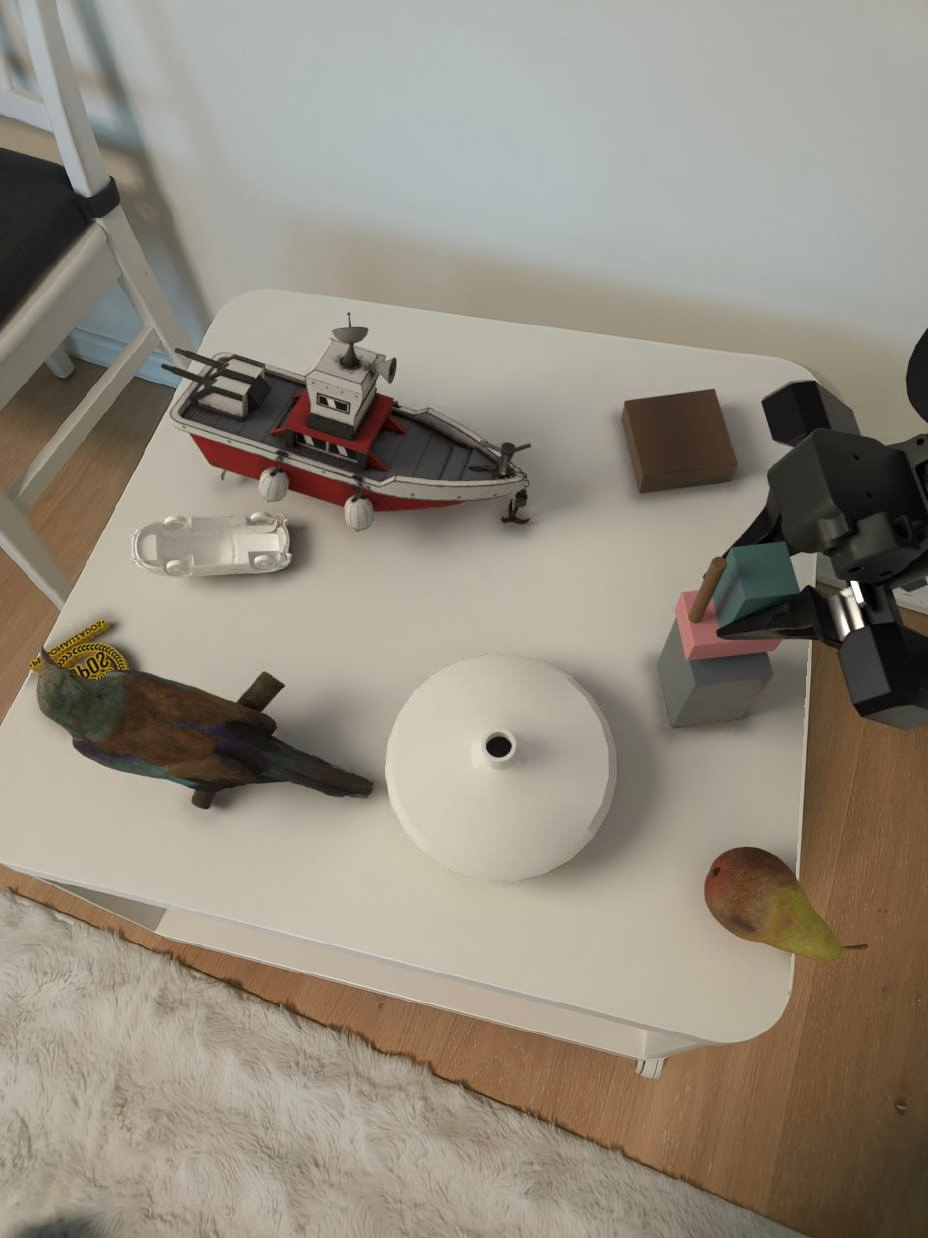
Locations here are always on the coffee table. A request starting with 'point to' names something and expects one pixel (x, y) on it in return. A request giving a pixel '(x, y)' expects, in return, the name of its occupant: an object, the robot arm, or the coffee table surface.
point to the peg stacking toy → (735, 599)
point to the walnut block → (678, 441)
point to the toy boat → (339, 435)
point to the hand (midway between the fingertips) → (713, 607)
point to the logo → (85, 654)
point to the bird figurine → (183, 733)
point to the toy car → (213, 545)
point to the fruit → (768, 905)
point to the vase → (501, 767)
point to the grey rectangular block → (709, 683)
